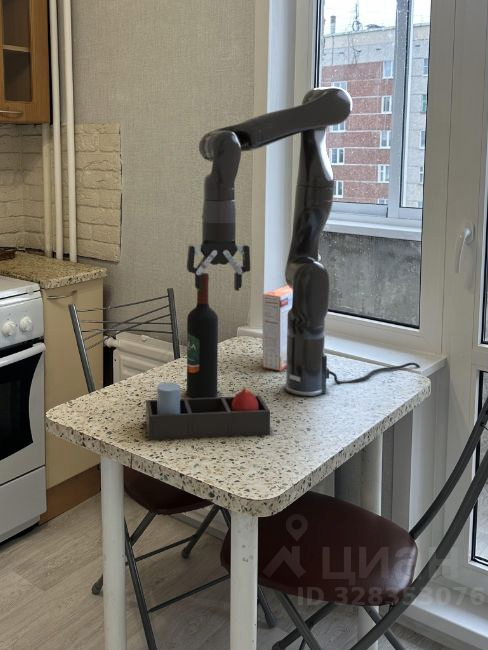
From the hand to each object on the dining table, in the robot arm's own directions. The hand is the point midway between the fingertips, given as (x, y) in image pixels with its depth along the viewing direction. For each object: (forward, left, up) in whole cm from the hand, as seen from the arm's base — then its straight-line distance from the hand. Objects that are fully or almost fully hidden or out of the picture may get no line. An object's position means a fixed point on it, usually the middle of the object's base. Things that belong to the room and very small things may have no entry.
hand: (218, 290), depth 153 cm
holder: (+4, +10, -28) cm, 30 cm away
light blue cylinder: (+12, +10, -28) cm, 32 cm away
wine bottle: (+2, -10, -28) cm, 30 cm away
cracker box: (-24, -31, -28) cm, 48 cm away
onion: (-4, +10, -28) cm, 30 cm away
